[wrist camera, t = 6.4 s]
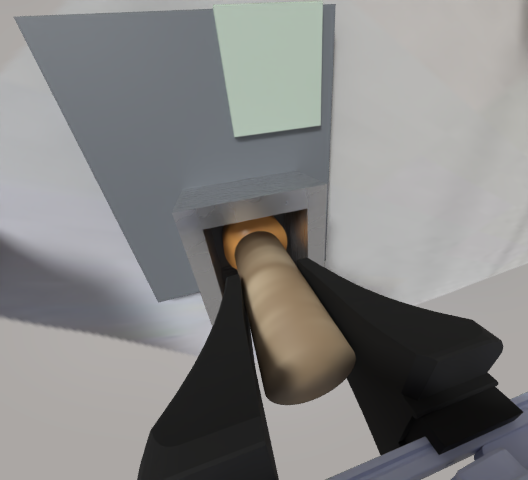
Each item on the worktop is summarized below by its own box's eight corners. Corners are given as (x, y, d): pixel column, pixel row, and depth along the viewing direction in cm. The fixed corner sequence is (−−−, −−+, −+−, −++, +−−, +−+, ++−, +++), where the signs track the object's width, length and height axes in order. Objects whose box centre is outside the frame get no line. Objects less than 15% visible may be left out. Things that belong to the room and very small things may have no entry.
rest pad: (234, 136, 14) (234, 137, 13) (212, 8, 11) (213, 5, 10) (317, 125, 14) (320, 125, 14) (319, 4, 12) (322, 0, 11)
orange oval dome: (228, 264, 17) (231, 279, 15) (216, 213, 15) (217, 224, 13) (281, 252, 18) (289, 265, 16) (276, 201, 16) (285, 210, 14)
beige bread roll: (240, 278, 14) (272, 415, 7) (229, 238, 13) (256, 365, 6) (284, 265, 15) (353, 384, 8) (278, 225, 13) (358, 329, 6)
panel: (161, 293, 19) (158, 302, 18) (33, 28, 10) (13, 16, 9) (319, 254, 21) (325, 260, 20) (325, 14, 13) (335, 3, 12)
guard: (211, 282, 18) (212, 325, 14) (182, 189, 14) (171, 213, 10) (299, 260, 20) (323, 294, 16) (295, 170, 16) (327, 183, 11)
